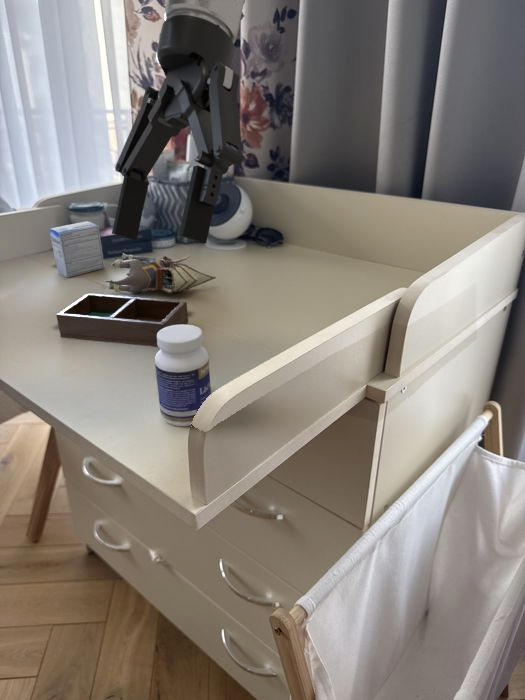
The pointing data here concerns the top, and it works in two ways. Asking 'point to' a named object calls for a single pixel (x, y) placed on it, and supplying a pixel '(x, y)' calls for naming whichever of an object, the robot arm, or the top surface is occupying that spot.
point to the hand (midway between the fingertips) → (155, 238)
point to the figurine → (156, 275)
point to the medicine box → (77, 248)
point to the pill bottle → (181, 373)
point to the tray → (120, 318)
